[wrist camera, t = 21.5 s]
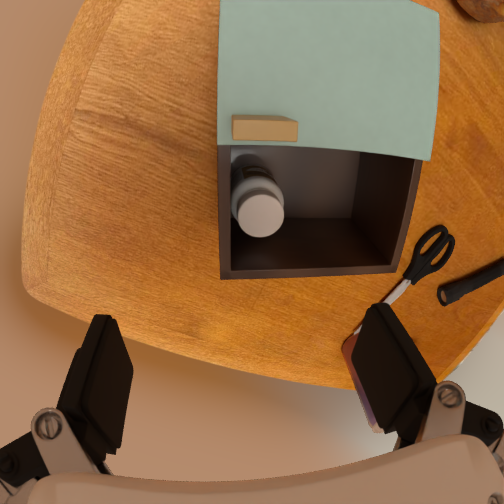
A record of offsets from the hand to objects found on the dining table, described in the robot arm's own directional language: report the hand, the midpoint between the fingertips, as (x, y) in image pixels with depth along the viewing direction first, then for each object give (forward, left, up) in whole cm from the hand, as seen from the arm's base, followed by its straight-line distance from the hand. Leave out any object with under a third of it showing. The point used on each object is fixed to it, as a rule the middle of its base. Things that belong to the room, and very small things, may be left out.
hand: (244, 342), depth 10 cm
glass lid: (+6, +11, -10) cm, 16 cm away
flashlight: (+39, -14, -21) cm, 47 cm away
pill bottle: (+2, 0, -20) cm, 20 cm away
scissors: (+23, -14, -21) cm, 34 cm away
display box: (+6, +1, -21) cm, 22 cm away
